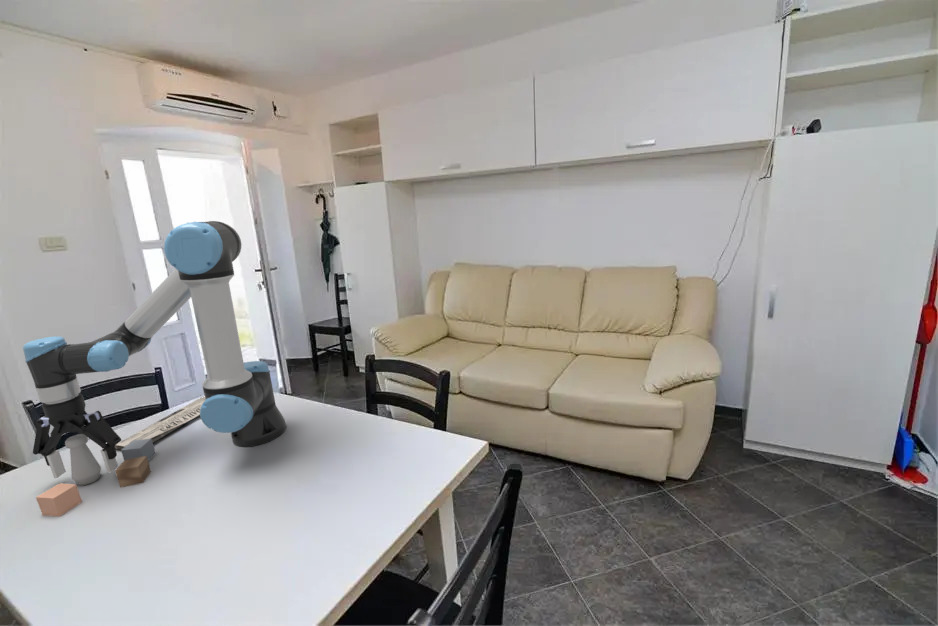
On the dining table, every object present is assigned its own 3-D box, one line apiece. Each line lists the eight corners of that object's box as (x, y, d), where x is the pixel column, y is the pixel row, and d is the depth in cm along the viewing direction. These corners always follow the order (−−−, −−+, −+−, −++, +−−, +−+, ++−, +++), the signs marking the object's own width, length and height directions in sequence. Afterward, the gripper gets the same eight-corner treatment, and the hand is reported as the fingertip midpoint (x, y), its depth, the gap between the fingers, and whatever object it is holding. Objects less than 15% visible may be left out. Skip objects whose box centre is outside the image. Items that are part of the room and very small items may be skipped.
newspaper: (204, 400, 157) (202, 391, 156) (232, 401, 155) (230, 392, 154) (109, 453, 124) (105, 443, 123) (142, 456, 121) (139, 445, 120)
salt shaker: (86, 488, 107) (71, 443, 104) (68, 486, 108) (53, 442, 105) (109, 474, 113) (95, 431, 109) (92, 472, 114) (78, 430, 111)
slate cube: (155, 453, 122) (151, 438, 120) (144, 463, 117) (140, 448, 115) (137, 455, 121) (133, 440, 120) (125, 466, 116) (120, 450, 115)
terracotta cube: (82, 502, 102) (76, 484, 101) (59, 516, 97) (53, 498, 96) (65, 500, 103) (59, 483, 102) (42, 515, 98) (35, 497, 97)
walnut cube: (151, 472, 113) (146, 455, 111) (142, 483, 108) (137, 466, 107) (129, 476, 111) (124, 459, 110) (120, 487, 107) (115, 470, 105)
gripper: (123, 386, 109) (144, 458, 115) (23, 396, 107) (49, 468, 112) (102, 399, 102) (125, 475, 107) (-6, 409, 100) (23, 486, 105)
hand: (86, 472), depth 110 cm, fingers open, 12 cm apart
